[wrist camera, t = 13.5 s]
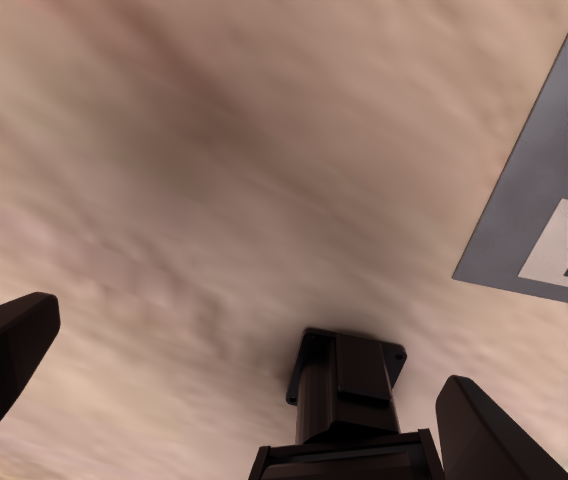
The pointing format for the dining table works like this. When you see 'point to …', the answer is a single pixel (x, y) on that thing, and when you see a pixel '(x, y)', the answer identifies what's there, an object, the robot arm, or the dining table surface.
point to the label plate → (529, 204)
